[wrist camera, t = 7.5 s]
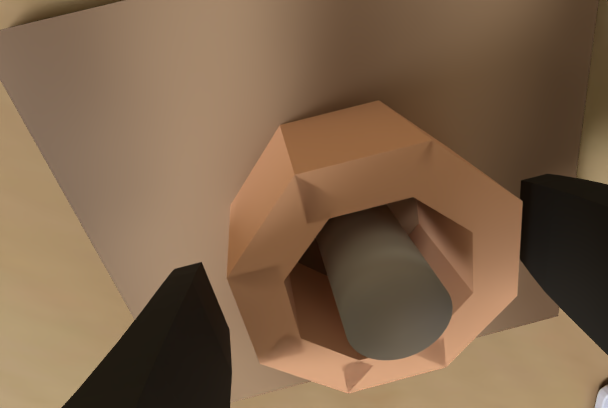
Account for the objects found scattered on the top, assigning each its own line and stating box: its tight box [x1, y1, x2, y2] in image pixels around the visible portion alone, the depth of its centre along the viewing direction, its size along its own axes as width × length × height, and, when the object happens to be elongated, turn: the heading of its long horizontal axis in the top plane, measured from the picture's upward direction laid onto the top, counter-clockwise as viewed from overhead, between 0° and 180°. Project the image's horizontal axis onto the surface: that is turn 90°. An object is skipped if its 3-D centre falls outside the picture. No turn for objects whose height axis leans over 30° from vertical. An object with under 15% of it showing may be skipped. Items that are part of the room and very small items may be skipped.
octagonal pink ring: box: [227, 100, 523, 393], centre depth 9 cm, size 6×6×3 cm
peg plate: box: [0, 0, 599, 403], centre depth 9 cm, size 13×12×5 cm
